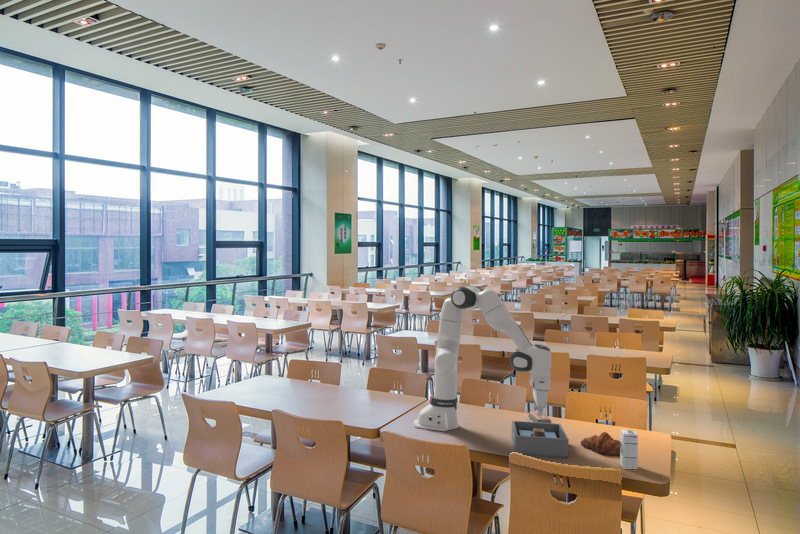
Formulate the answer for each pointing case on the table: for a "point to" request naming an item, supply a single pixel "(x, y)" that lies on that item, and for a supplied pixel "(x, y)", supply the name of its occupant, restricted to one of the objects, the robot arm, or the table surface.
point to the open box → (539, 439)
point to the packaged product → (537, 417)
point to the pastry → (602, 444)
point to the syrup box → (629, 449)
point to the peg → (538, 432)
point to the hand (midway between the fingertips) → (538, 412)
